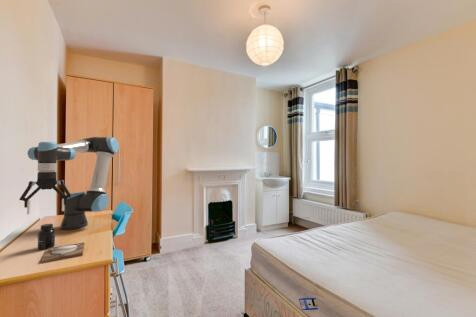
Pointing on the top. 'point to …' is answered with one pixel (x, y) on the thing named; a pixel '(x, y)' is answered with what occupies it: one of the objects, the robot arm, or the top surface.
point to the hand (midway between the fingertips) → (46, 212)
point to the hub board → (63, 252)
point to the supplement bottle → (46, 237)
